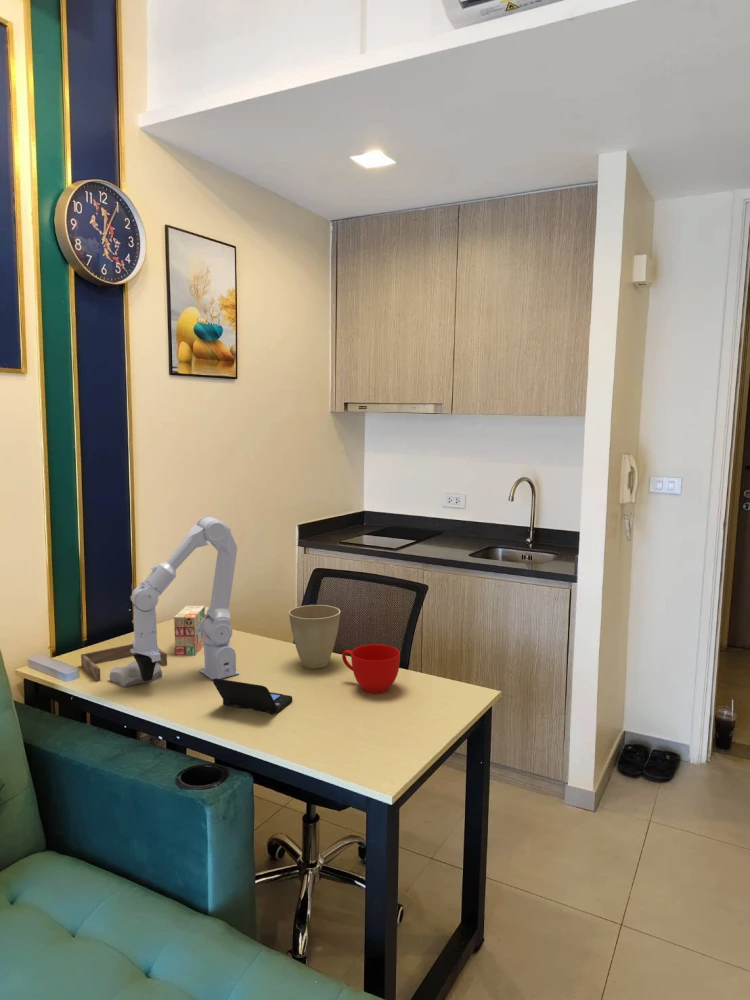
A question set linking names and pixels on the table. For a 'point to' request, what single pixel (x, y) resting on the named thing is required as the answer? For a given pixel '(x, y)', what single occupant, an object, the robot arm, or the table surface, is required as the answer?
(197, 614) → the stack of blocks
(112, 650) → the box
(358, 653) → the ceramic cup
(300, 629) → the plant pot
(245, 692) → the game console
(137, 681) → the stone block
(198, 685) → the table surface
